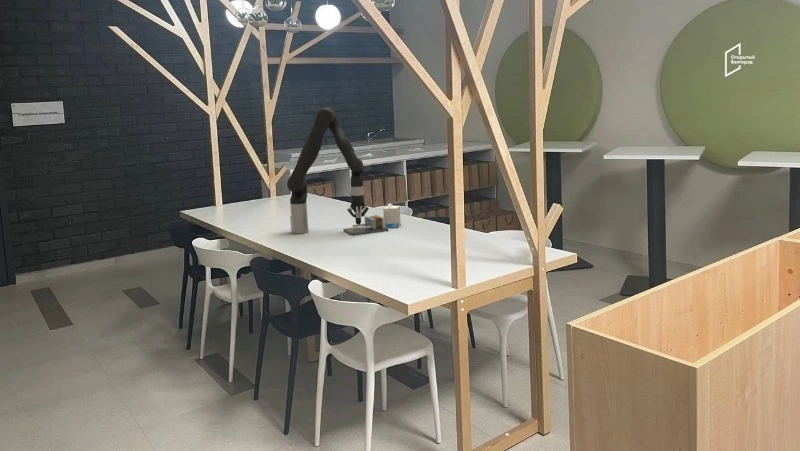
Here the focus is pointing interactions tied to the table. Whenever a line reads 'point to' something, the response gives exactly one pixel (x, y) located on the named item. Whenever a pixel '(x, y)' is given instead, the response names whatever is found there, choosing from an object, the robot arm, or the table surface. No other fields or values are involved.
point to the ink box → (392, 216)
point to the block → (377, 221)
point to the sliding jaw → (367, 223)
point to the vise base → (366, 231)
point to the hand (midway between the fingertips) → (358, 224)
